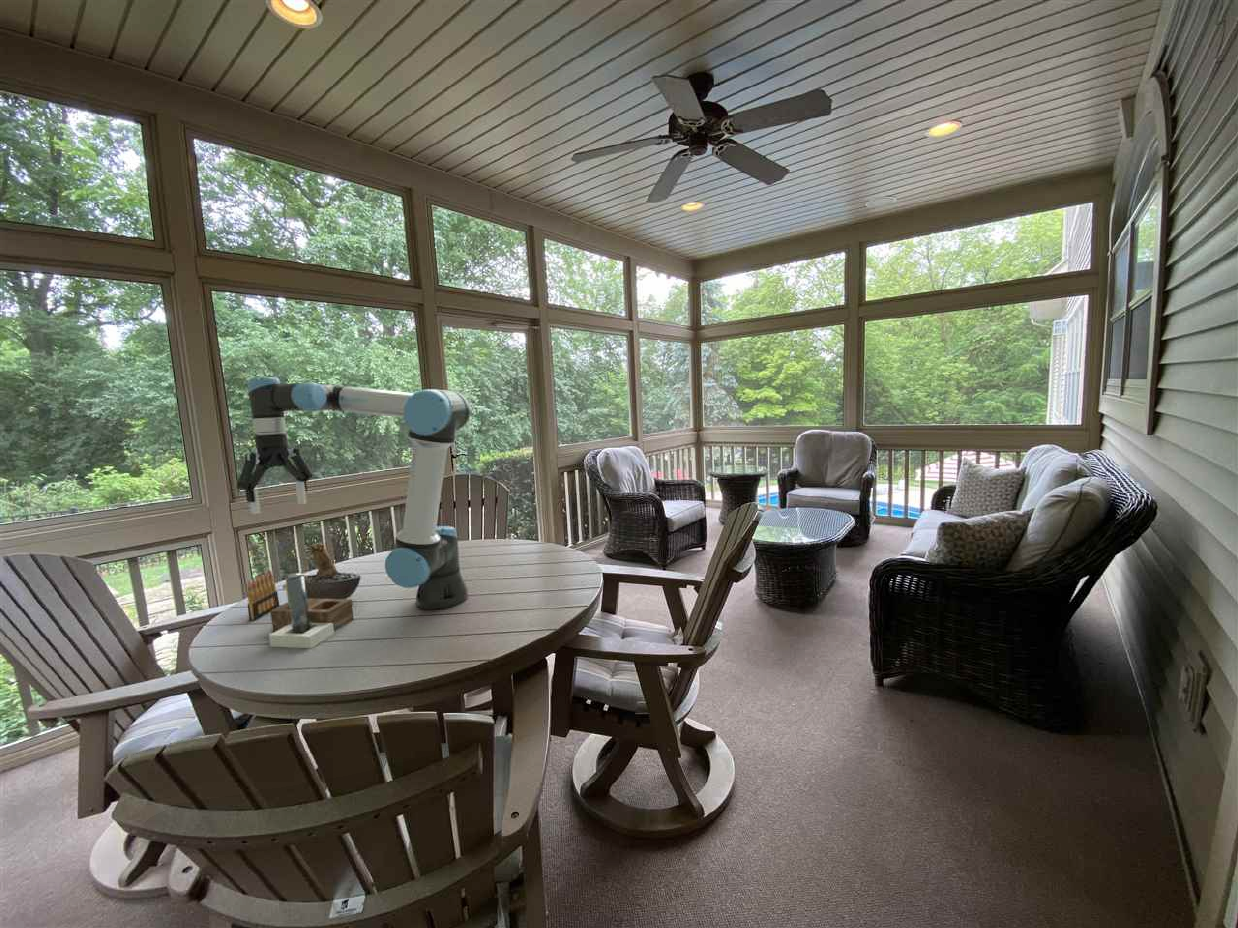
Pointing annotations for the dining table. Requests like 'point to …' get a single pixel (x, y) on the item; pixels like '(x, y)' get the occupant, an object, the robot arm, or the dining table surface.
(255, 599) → the ammunition clip
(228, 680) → the dining table surface
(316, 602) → the socket block
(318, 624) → the block
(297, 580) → the grey metal cylinder
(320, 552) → the planter
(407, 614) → the dining table surface
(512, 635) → the dining table surface
